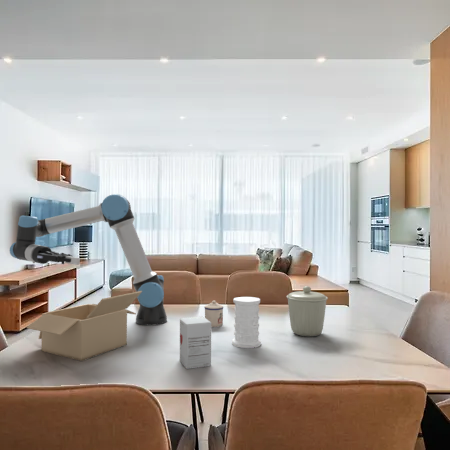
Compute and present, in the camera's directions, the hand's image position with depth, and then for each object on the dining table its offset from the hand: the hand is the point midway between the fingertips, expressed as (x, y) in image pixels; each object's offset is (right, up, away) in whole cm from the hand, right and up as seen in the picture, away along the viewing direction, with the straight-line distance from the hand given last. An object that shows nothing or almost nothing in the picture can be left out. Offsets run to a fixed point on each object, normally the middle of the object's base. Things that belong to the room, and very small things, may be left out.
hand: (78, 261), depth 154 cm
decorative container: (+68, -34, +1) cm, 76 cm away
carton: (+3, -33, -4) cm, 33 cm away
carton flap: (+15, -18, -11) cm, 26 cm away
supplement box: (+49, -33, -22) cm, 63 cm away
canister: (+95, -34, +17) cm, 103 cm away
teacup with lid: (+54, -34, +32) cm, 71 cm away
